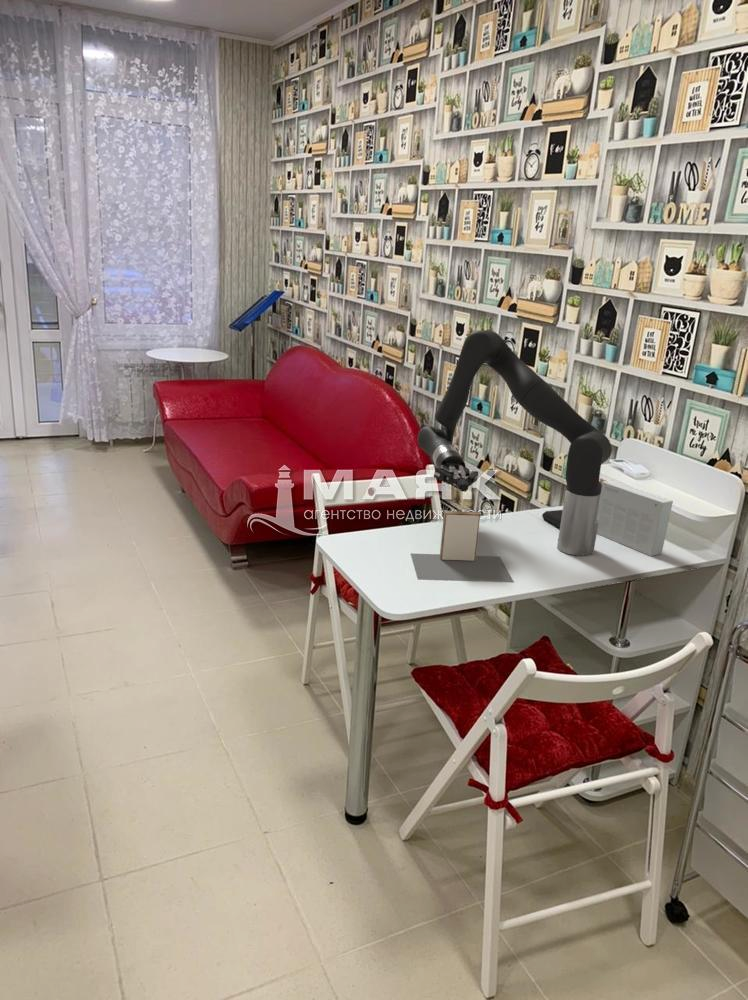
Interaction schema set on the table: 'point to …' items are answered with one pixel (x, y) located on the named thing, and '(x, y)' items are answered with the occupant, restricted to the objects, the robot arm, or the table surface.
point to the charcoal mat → (460, 569)
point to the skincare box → (633, 517)
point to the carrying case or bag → (553, 517)
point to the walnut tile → (459, 535)
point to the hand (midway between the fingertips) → (464, 488)
